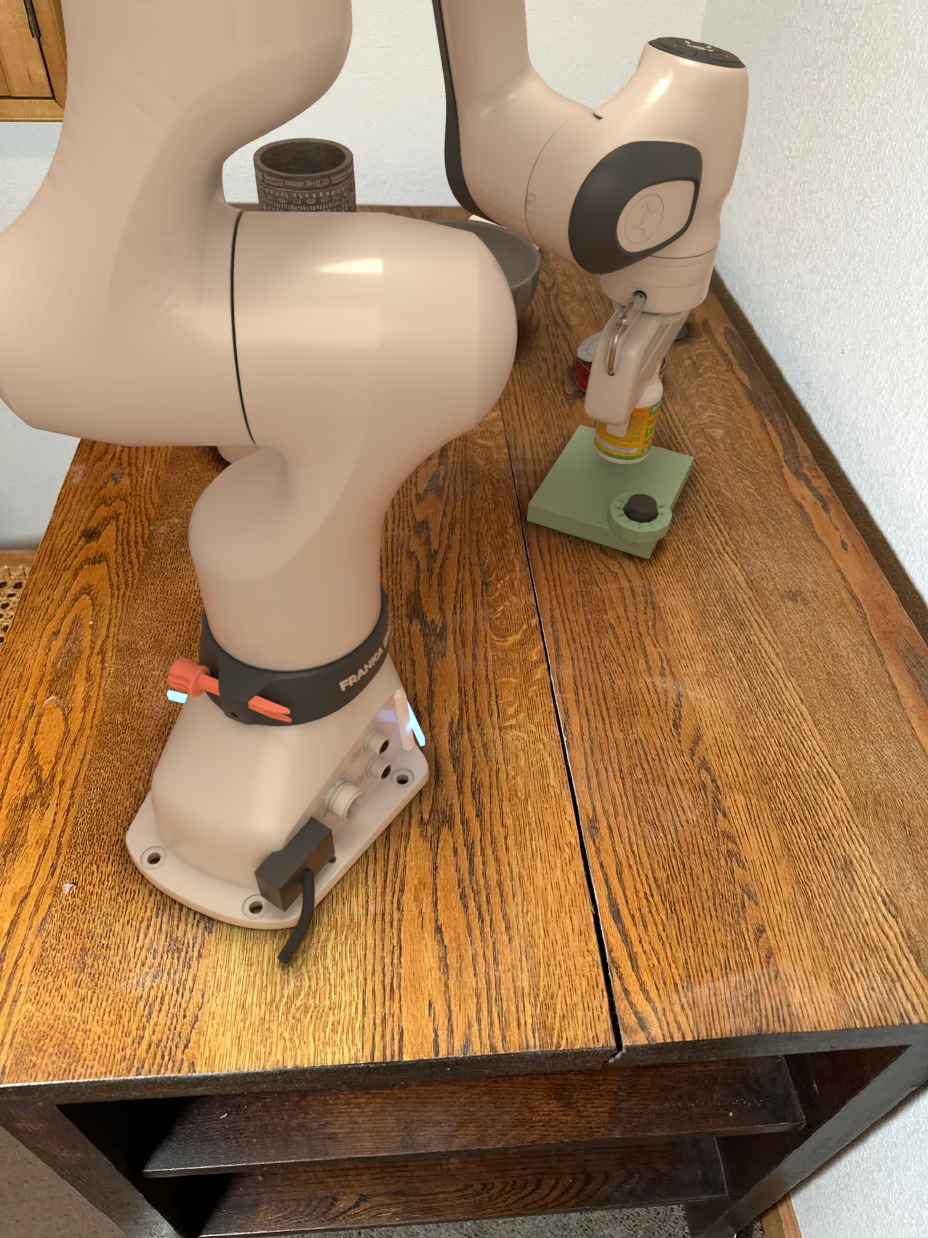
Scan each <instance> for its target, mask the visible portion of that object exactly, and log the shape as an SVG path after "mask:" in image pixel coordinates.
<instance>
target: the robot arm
mask: <svg viewBox="0 0 928 1238" xmlns="http://www.w3.org/2000/svg"><path fill="white" fill-rule="evenodd" d="M60 4H61V12H62V19H63V27H64V36H65V46H66V47H65V48H66V64H67V65H66V66H67V69H66V71H67V72H66V73H67V74H66V78H67V79H66V84H67V85H66V96H65V104H64V111H63V112H64V113H63V118H62V124H61V129H60V133H59V138H58V142H57V145H56V148H55V151H54V154H53V156H52V159H51V161H50V165H49V167H48V169H47V172H46V174H45V176H44V178H43V180H42V182H41V183H40V186H39V188H38V189H37V190H36V192H35V194H34V195H33V197H32V199H30V201H29V203H28V204H27V205H26V207H25V208H24V209H23V210H22V211H21V212H20V214H19V215H18V216H17V217H16V218H15V219H14V220H13V221H12V222H11V223H10V224H8V226H7V227H5V228H4V229H3V230H2V231H1V232H0V399H1V401H2V402H3V403H4V404H5V405H6V406H7V407H8V409H9V410H10V411H11V412H12V413H13V414H15V415H16V417H18V418H19V419H20V420H21V421H22V422H23V423H24V424H26V426H29V427H30V428H33V429H35V430H40V431H43V432H48V433H55V434H59V435H63V436H68V437H73V438H78V439H83V440H89V441H94V442H100V443H106V444H112V445H117V446H123V447H216V446H258V447H261V448H260V449H258V450H256V451H254V452H252V453H249V454H248V455H246V456H244V457H242V458H240V459H238V460H237V461H235V462H234V463H230V464H229V465H228V466H227V467H225V468H224V469H223V470H222V471H221V472H220V473H219V474H218V475H216V477H215V478H214V479H213V480H212V481H211V482H210V483H209V484H208V486H207V487H205V488H204V490H203V491H202V493H201V494H200V496H199V498H198V499H197V500H196V502H195V505H194V507H193V509H192V511H191V515H190V517H189V523H188V529H187V530H188V531H187V532H188V533H187V542H188V548H189V549H188V550H189V553H190V558H191V561H192V564H193V565H192V566H193V568H194V572H195V576H196V580H197V584H198V588H199V592H200V596H201V599H202V604H203V609H202V615H201V622H200V624H199V648H198V649H199V650H198V661H197V663H196V662H194V661H193V660H192V659H190V658H187V657H183V656H181V657H179V658H177V659H176V660H175V661H174V662H173V663H172V665H171V666H170V668H169V670H168V675H167V679H166V680H167V685H168V686H169V687H170V688H172V689H175V690H178V691H183V692H186V693H182V692H178V691H174V690H170V689H169V690H168V691H167V693H166V695H167V698H168V700H169V701H173V702H177V703H182V706H181V709H180V711H179V713H178V715H177V718H176V721H175V723H174V725H173V728H172V730H171V732H170V734H169V736H168V739H167V742H166V744H165V746H164V747H163V748H164V749H163V751H162V752H161V755H160V758H159V759H158V762H157V765H156V767H155V769H154V772H153V775H152V778H151V786H150V787H151V788H150V790H149V791H148V792H147V795H146V796H145V798H144V800H143V802H142V804H141V806H140V807H139V809H138V811H137V813H136V814H135V816H134V819H133V820H132V822H131V823H130V826H129V828H128V830H127V831H126V834H125V840H124V841H125V846H126V849H127V852H128V854H129V857H130V859H131V861H132V862H133V864H134V865H135V867H136V869H138V871H139V872H140V873H141V874H142V876H143V877H144V878H145V879H146V880H147V881H148V882H150V884H152V885H153V886H154V887H155V888H157V889H158V890H159V891H161V893H164V894H165V895H166V896H167V897H170V898H171V899H173V900H175V901H177V902H179V903H180V904H181V905H184V906H186V907H187V908H189V909H191V910H193V911H195V912H198V913H200V914H203V915H205V916H207V917H210V918H211V919H214V920H217V921H220V922H223V923H226V924H229V925H234V926H238V927H242V928H247V929H248V928H249V929H255V930H279V929H289V928H294V927H295V928H294V930H293V931H292V933H291V934H290V936H289V938H288V939H287V940H286V942H285V944H284V946H283V947H282V949H281V950H280V952H279V953H278V955H277V960H278V961H279V962H281V963H283V964H290V961H291V959H292V957H293V956H294V954H295V953H296V951H297V949H298V948H299V947H300V945H301V944H302V942H303V941H304V939H305V937H306V934H307V933H308V930H309V928H310V926H311V922H312V920H313V916H314V911H315V908H316V907H317V906H318V905H319V904H320V902H321V901H322V900H323V899H324V898H325V897H326V896H327V895H328V894H329V893H330V891H331V890H332V889H333V888H334V887H335V885H336V884H337V883H338V882H339V881H340V880H341V879H342V878H343V877H344V876H345V874H347V872H348V871H349V870H350V869H351V868H352V867H353V866H354V864H355V863H356V862H357V861H358V860H359V859H360V858H361V857H362V856H363V854H365V852H366V851H367V850H368V849H369V848H370V847H371V846H372V844H374V842H375V841H376V840H377V839H378V838H379V837H380V835H381V834H383V832H384V831H385V830H386V829H387V827H389V825H390V824H391V823H392V822H393V821H394V820H395V819H396V818H397V817H398V815H399V814H400V813H401V812H402V811H403V810H404V809H405V807H407V805H409V803H411V801H412V800H413V798H414V797H415V796H416V795H417V794H418V793H419V792H420V791H421V790H422V788H424V786H425V785H426V784H427V782H428V781H429V779H430V768H429V764H428V761H427V759H426V756H425V755H424V753H423V751H422V749H420V747H423V746H425V745H426V741H425V740H426V739H425V735H424V733H423V731H422V729H421V727H420V724H419V722H418V721H417V718H416V716H415V714H414V712H413V709H412V707H411V705H410V703H409V701H408V697H407V693H406V691H405V687H404V686H403V683H402V681H401V678H400V675H399V674H398V671H397V669H396V667H395V665H394V663H393V660H392V657H391V654H390V652H389V650H390V645H391V628H392V620H391V609H390V607H389V603H388V597H387V592H386V589H385V587H384V585H383V583H382V581H381V547H382V536H383V535H382V534H383V525H384V522H385V521H384V520H385V517H386V513H387V511H388V508H389V507H390V504H391V502H392V500H393V499H394V498H395V496H396V494H397V492H398V491H399V489H400V488H401V487H402V486H403V484H404V483H405V481H406V480H407V479H408V478H409V477H410V476H411V474H412V473H413V472H414V471H415V470H416V469H417V468H419V466H420V465H421V464H422V463H423V462H425V461H426V460H427V459H428V458H429V457H431V456H432V455H433V454H434V453H435V452H437V451H438V450H440V449H441V448H442V447H444V446H445V445H447V444H449V443H450V442H452V441H453V440H455V439H457V438H458V437H460V436H462V435H464V434H466V433H468V432H469V431H472V430H473V429H475V428H476V427H477V426H478V425H479V424H480V423H481V422H482V421H484V419H485V418H486V417H487V415H488V414H489V413H490V412H491V411H492V409H493V408H494V406H495V405H496V404H497V403H498V400H499V399H500V397H501V396H502V394H503V392H504V390H505V388H506V386H507V383H508V381H509V378H510V376H511V374H512V370H513V367H514V362H515V358H516V351H517V344H518V321H517V319H516V310H515V305H514V301H513V296H512V293H511V290H510V287H509V284H508V281H507V279H506V277H505V275H504V273H503V271H502V269H501V267H500V265H499V264H498V262H497V260H496V259H495V257H494V255H493V254H492V253H491V252H490V250H489V249H488V248H487V246H486V245H485V244H484V243H483V242H482V241H481V240H480V239H479V238H478V237H477V235H476V234H474V233H472V232H469V231H465V230H461V229H457V228H453V227H448V226H444V225H440V224H436V223H432V222H428V221H423V219H418V218H413V217H407V216H402V215H397V214H393V213H388V212H384V211H383V212H382V211H381V212H378V211H376V212H375V211H374V212H373V211H357V212H266V211H260V210H257V211H254V210H253V211H251V210H249V211H247V210H245V209H244V208H237V207H233V206H232V205H230V204H229V203H228V202H227V200H226V197H225V192H224V184H223V183H224V182H223V168H224V163H225V162H226V161H227V160H228V159H229V158H230V157H231V156H232V155H233V154H235V152H237V151H238V150H240V149H241V148H243V147H245V146H246V145H248V144H250V143H253V142H254V141H257V140H258V139H260V138H262V137H264V136H266V135H268V134H269V133H271V132H273V131H275V130H277V129H278V128H280V127H282V126H284V125H285V124H287V123H288V122H290V121H292V120H293V119H295V118H296V117H298V116H299V115H300V114H302V113H304V112H305V111H307V110H308V109H309V108H311V107H312V106H313V105H315V103H317V102H319V100H320V99H321V98H323V96H324V95H325V94H327V92H328V91H329V90H330V89H331V87H333V85H334V84H335V83H336V81H337V80H338V78H339V76H340V74H341V73H342V70H343V68H344V66H345V64H346V61H347V58H348V55H349V51H350V47H351V43H352V37H353V30H354V29H353V25H354V24H353V7H352V6H353V5H352V0H60ZM431 6H432V11H433V16H434V24H435V30H436V36H437V37H436V38H437V43H438V49H439V55H440V57H439V58H440V62H441V71H442V76H443V83H444V93H445V126H444V145H443V146H444V147H443V157H444V159H443V160H444V161H443V162H444V170H445V176H446V180H447V183H448V187H449V190H450V191H451V193H452V195H453V197H454V199H455V200H456V202H457V203H458V204H459V205H460V206H461V207H462V208H463V209H464V210H465V211H466V212H468V213H470V214H471V215H475V216H478V217H480V218H483V219H485V220H487V221H490V222H492V223H494V224H497V225H499V226H502V227H505V228H507V229H509V230H510V231H512V232H514V233H516V234H517V235H519V236H521V237H522V238H524V239H526V240H528V241H529V242H531V243H533V244H535V245H536V246H538V247H539V249H542V250H544V251H545V252H549V253H550V254H552V255H554V256H555V257H557V258H559V259H561V260H563V261H565V262H566V263H569V264H570V265H572V266H574V267H575V268H578V269H580V270H584V271H586V272H588V273H590V274H593V275H594V274H595V275H600V276H599V285H600V286H599V287H600V288H601V290H602V292H603V293H604V294H605V295H606V296H607V298H609V299H610V300H611V306H612V309H614V312H613V314H612V315H611V316H610V318H609V319H608V320H607V322H606V323H605V325H604V327H603V329H602V330H601V331H602V332H601V334H600V336H599V339H598V342H597V345H596V348H595V352H594V356H593V361H592V366H591V371H590V376H589V381H588V386H587V391H586V393H585V397H584V403H583V411H584V414H585V416H586V418H588V419H590V420H593V421H596V422H597V421H599V422H603V423H606V424H607V428H606V430H607V432H608V433H609V434H611V435H615V436H618V437H624V436H625V435H626V433H627V431H628V429H629V427H630V424H631V419H632V414H633V413H632V412H633V410H634V408H635V407H636V405H637V403H638V402H639V400H640V398H641V396H642V395H643V393H644V391H645V390H646V388H647V386H648V384H649V383H650V381H651V379H652V378H653V376H654V374H655V372H656V370H657V368H658V366H659V364H660V362H662V360H663V359H664V357H665V355H667V354H668V351H669V350H670V348H671V346H672V345H673V343H674V341H676V340H675V338H676V336H677V335H678V333H679V331H680V329H681V328H682V326H683V325H685V323H686V322H687V319H688V316H689V315H690V312H691V310H693V309H695V308H697V307H699V306H700V305H701V304H702V303H704V301H705V300H706V298H707V295H708V293H709V287H710V283H711V280H712V279H711V278H712V274H713V270H714V266H715V263H716V258H717V254H718V249H719V245H720V241H721V237H722V225H721V223H722V222H721V217H722V210H723V206H724V204H725V201H726V199H727V197H728V195H729V193H730V192H731V190H732V188H733V185H734V181H735V179H736V174H737V170H738V165H739V160H740V155H741V151H742V146H743V141H744V135H745V130H746V123H747V116H748V115H747V114H748V107H749V95H750V94H749V93H750V92H749V91H750V90H749V89H750V85H749V84H750V83H749V71H748V68H747V66H746V64H744V62H743V61H742V60H741V59H740V58H739V57H738V56H737V55H736V54H734V53H732V52H730V51H728V50H726V49H722V48H720V47H718V46H714V45H711V44H708V43H706V42H699V41H695V40H692V39H690V38H683V37H675V36H661V37H657V38H654V39H650V40H649V41H647V42H646V43H645V44H644V46H643V49H642V51H641V53H640V56H639V59H638V62H637V65H636V68H635V72H634V73H633V74H632V76H631V77H630V79H629V80H628V81H627V83H626V84H625V85H624V86H623V87H622V88H621V89H620V90H619V91H618V92H617V93H616V94H615V95H614V96H613V97H611V98H610V99H609V100H608V101H606V102H605V103H604V104H602V105H600V106H598V107H596V108H592V107H589V106H586V105H585V104H582V103H580V102H578V101H575V100H573V99H571V98H568V97H566V96H564V95H562V94H561V93H559V92H557V91H556V90H554V89H553V87H551V86H550V85H549V84H548V83H547V82H546V81H545V80H544V79H543V78H542V76H540V75H539V73H538V71H536V69H535V68H534V65H533V64H532V61H531V59H530V54H529V44H528V43H529V42H528V29H527V27H528V26H527V12H526V0H431ZM414 734H415V738H416V740H417V741H418V744H419V746H420V747H419V746H418V744H417V742H416V741H415V738H414ZM401 781H406V783H403V784H401V783H398V782H401ZM155 859H159V861H158V862H156V863H151V862H152V861H153V860H155ZM257 907H260V908H261V910H260V911H259V912H257V913H253V912H252V910H253V909H255V908H257Z"/></svg>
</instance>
